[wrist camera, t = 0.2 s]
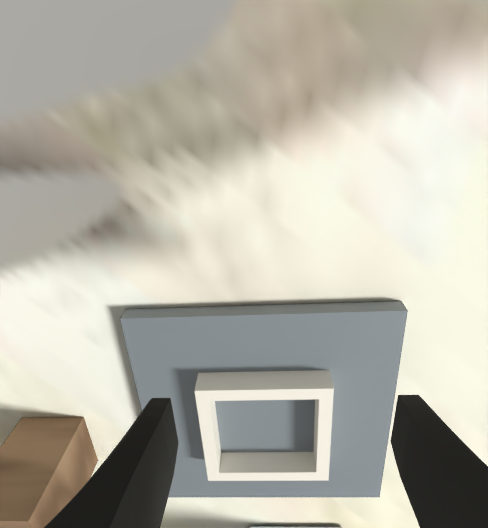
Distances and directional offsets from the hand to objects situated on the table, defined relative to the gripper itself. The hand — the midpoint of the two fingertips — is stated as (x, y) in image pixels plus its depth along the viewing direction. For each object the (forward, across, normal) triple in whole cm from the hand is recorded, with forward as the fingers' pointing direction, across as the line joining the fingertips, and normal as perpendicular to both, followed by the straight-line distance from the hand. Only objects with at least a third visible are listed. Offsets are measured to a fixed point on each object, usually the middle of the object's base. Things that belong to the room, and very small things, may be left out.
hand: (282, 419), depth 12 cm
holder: (+10, +1, +10) cm, 14 cm away
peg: (+10, +16, +13) cm, 23 cm away
